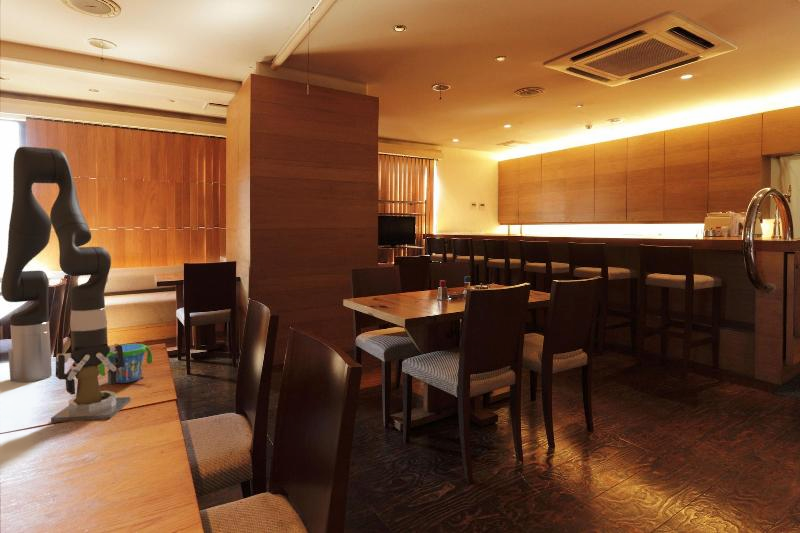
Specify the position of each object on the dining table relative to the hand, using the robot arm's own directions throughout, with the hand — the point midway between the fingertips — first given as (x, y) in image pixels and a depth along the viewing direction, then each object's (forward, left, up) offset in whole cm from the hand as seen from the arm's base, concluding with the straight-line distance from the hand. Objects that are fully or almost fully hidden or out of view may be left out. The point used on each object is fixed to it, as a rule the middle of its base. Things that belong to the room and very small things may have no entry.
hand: (92, 389), depth 116 cm
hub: (0, 0, -6) cm, 6 cm away
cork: (-1, 0, -5) cm, 5 cm away
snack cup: (-1, +24, -6) cm, 25 cm away
